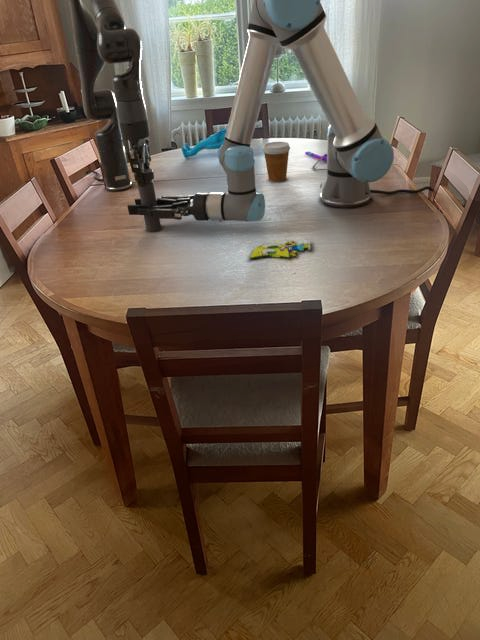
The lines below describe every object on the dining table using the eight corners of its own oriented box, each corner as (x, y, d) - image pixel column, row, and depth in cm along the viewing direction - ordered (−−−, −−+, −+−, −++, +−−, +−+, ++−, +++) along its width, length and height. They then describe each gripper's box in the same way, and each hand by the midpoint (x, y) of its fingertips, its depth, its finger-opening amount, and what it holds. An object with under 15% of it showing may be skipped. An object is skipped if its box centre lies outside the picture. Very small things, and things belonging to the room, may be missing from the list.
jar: (162, 225, 143) (153, 172, 135) (159, 231, 140) (150, 176, 131) (147, 226, 144) (137, 173, 135) (145, 232, 140) (134, 177, 131)
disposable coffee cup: (260, 182, 170) (258, 147, 164) (269, 174, 177) (267, 141, 171) (286, 183, 167) (285, 148, 160) (294, 175, 174) (293, 141, 168)
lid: (147, 175, 137) (146, 167, 136) (158, 178, 133) (156, 170, 132) (131, 180, 134) (129, 171, 133) (141, 183, 130) (139, 175, 129)
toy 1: (187, 137, 214) (250, 117, 204) (195, 160, 219) (257, 142, 209) (175, 147, 200) (242, 126, 190) (184, 171, 205) (250, 153, 195)
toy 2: (310, 255, 116) (249, 256, 118) (310, 259, 116) (249, 259, 119) (310, 238, 124) (253, 239, 127) (310, 241, 125) (253, 242, 127)
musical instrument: (342, 175, 173) (362, 153, 185) (341, 169, 172) (361, 148, 184) (283, 174, 186) (305, 153, 198) (282, 169, 184) (305, 148, 196)
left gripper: (126, 114, 131) (138, 176, 141) (110, 125, 119) (124, 191, 129) (153, 112, 131) (163, 174, 140) (140, 123, 119) (152, 190, 128)
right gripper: (202, 231, 129) (122, 230, 134) (218, 208, 143) (146, 208, 148) (198, 204, 125) (116, 204, 130) (216, 183, 139) (141, 184, 144)
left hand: (145, 182), depth 134 cm, fingers closed on lid, 5 cm apart
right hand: (132, 206), depth 139 cm, fingers closed on jar, 4 cm apart
